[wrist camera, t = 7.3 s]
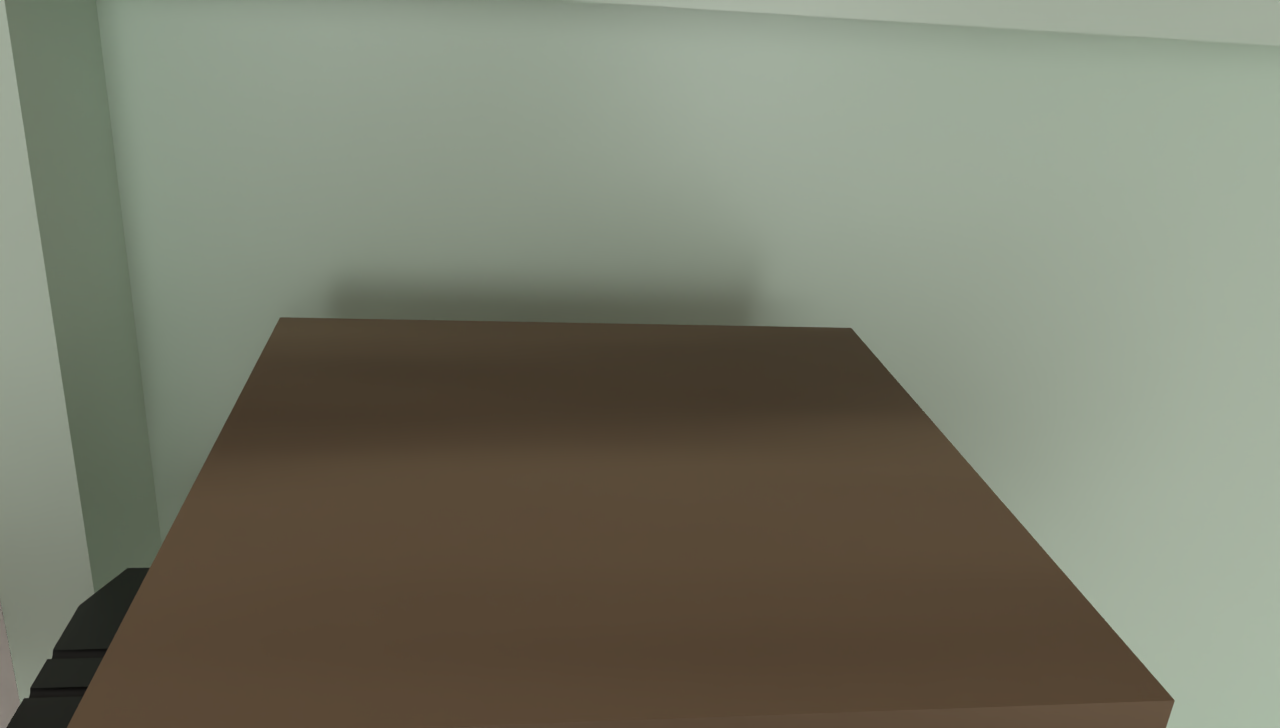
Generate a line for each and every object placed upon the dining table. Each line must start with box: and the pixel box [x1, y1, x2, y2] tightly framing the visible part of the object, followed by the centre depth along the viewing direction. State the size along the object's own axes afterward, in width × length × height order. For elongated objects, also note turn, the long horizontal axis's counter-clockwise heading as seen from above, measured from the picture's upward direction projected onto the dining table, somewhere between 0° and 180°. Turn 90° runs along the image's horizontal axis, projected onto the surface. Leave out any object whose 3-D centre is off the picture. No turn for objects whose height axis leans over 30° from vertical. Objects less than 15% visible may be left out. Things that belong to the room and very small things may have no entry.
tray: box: [0, 0, 1280, 728], centre depth 12 cm, size 12×18×2 cm, turn 86°
